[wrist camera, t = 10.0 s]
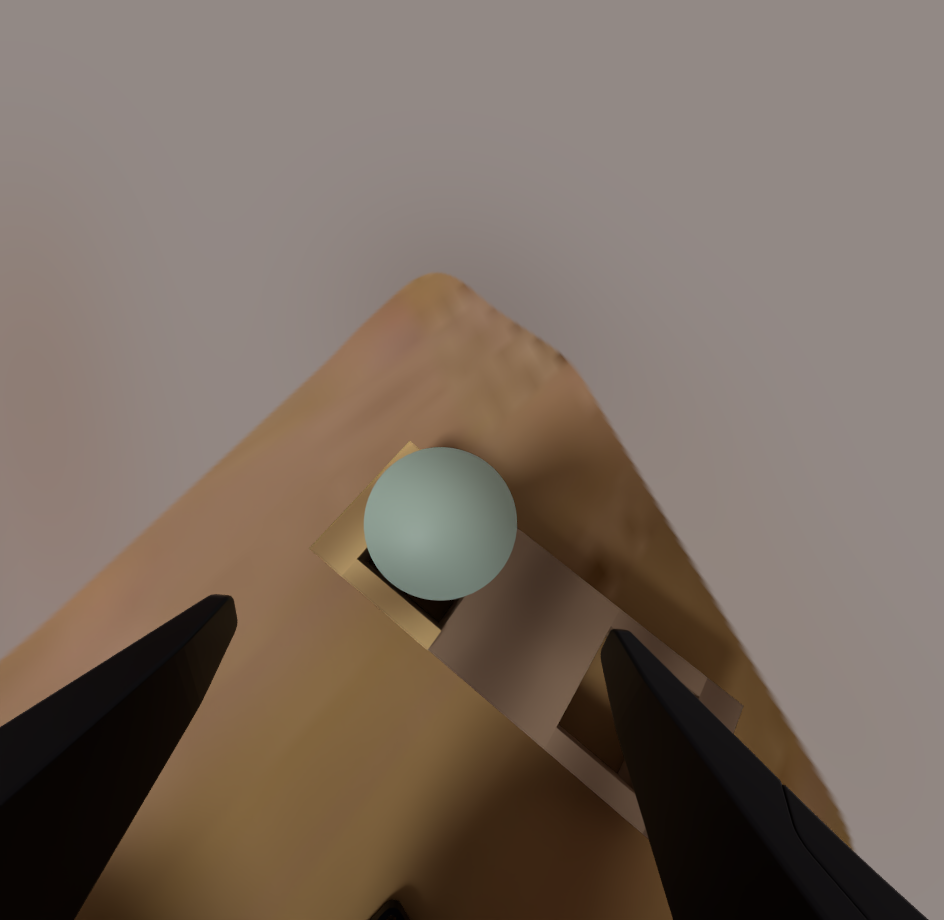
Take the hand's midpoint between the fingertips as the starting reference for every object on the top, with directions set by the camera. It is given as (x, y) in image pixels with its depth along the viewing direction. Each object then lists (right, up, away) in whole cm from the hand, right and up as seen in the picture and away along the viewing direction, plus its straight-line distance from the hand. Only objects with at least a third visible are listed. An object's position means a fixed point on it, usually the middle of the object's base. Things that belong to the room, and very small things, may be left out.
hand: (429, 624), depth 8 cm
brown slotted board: (+3, -5, +12) cm, 13 cm away
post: (-1, -2, +12) cm, 12 cm away
